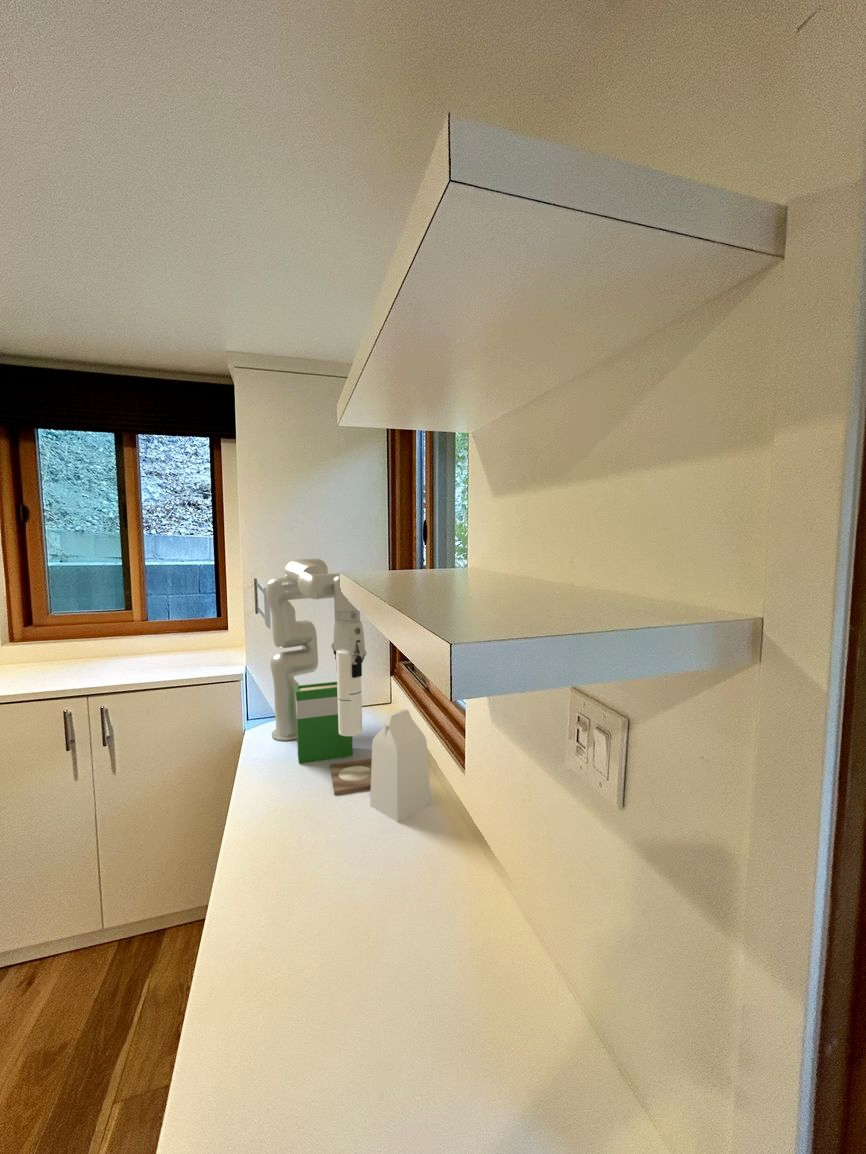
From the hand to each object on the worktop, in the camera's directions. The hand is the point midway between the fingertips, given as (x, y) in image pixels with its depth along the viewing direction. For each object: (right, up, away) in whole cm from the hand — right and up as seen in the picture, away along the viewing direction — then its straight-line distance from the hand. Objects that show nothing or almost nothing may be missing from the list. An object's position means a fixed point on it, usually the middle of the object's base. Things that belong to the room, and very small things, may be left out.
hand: (349, 674), depth 149 cm
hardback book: (-11, -32, +19) cm, 38 cm away
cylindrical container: (0, -18, +1) cm, 18 cm away
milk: (+16, -33, -14) cm, 40 cm away
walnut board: (+1, -32, +3) cm, 32 cm away
